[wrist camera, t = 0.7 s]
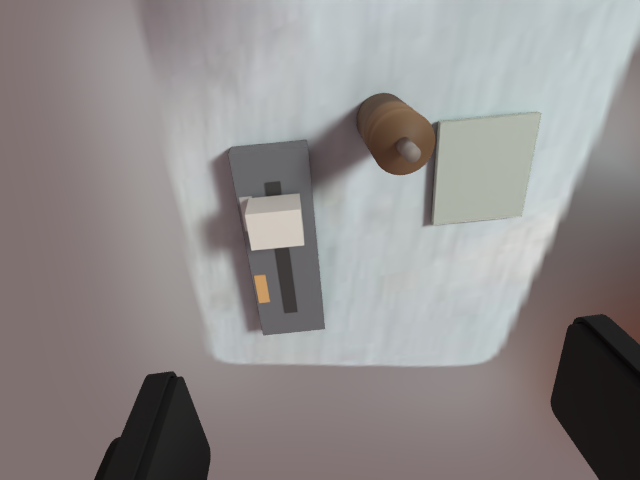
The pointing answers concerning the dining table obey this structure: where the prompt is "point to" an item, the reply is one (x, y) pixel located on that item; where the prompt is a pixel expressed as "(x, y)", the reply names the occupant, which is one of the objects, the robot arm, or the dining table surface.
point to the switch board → (288, 262)
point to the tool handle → (395, 134)
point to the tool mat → (483, 167)
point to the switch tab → (274, 222)
